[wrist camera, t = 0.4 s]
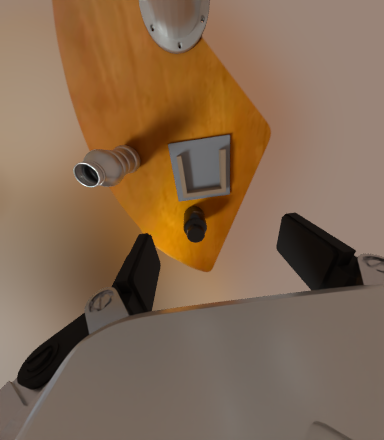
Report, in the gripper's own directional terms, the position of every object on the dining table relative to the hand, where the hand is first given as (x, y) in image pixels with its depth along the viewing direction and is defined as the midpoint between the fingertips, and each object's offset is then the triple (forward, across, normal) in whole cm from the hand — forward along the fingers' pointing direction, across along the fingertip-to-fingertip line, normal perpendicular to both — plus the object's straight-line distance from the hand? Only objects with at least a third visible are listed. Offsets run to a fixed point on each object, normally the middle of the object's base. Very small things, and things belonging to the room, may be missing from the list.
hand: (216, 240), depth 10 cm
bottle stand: (+35, -2, +1) cm, 35 cm away
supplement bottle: (+35, +2, +15) cm, 38 cm away
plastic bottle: (+35, +17, -5) cm, 39 cm away
